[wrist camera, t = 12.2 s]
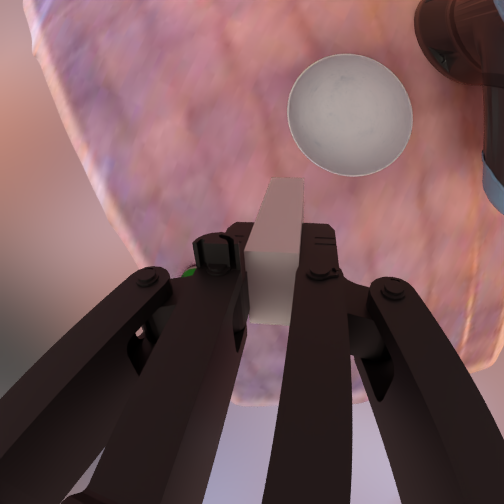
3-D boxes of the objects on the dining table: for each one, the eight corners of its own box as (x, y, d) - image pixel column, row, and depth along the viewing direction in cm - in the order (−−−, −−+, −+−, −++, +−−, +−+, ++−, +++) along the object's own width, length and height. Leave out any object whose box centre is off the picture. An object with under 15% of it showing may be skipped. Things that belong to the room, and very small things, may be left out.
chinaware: (406, 77, 33) (425, 77, 27) (380, 172, 41) (393, 190, 35) (301, 47, 34) (299, 40, 28) (281, 147, 42) (276, 160, 36)
